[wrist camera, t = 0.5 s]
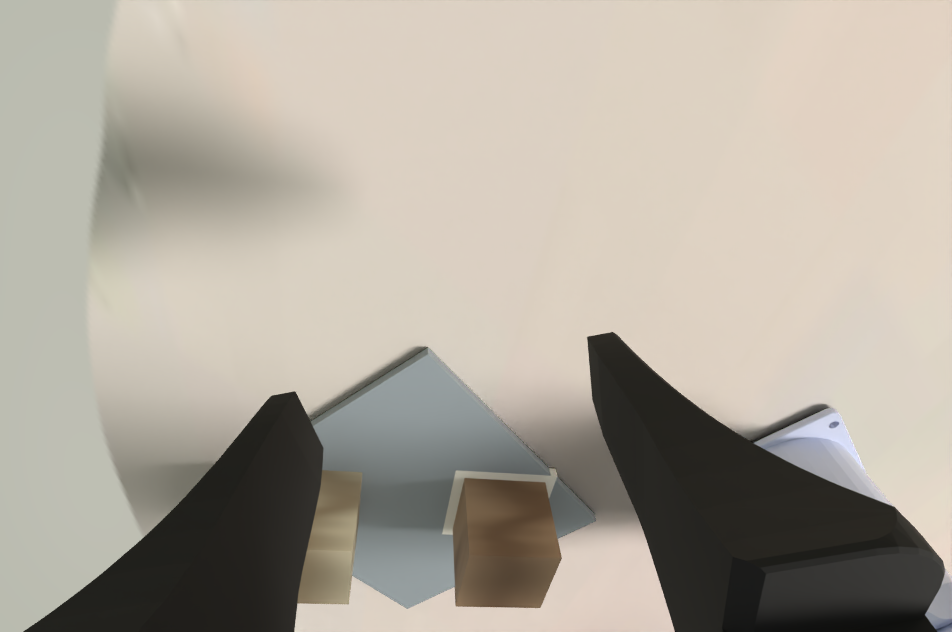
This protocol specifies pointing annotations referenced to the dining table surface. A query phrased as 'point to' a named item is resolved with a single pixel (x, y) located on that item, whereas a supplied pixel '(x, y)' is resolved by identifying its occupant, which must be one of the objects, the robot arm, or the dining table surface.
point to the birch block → (332, 540)
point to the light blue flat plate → (425, 472)
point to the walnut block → (504, 544)
